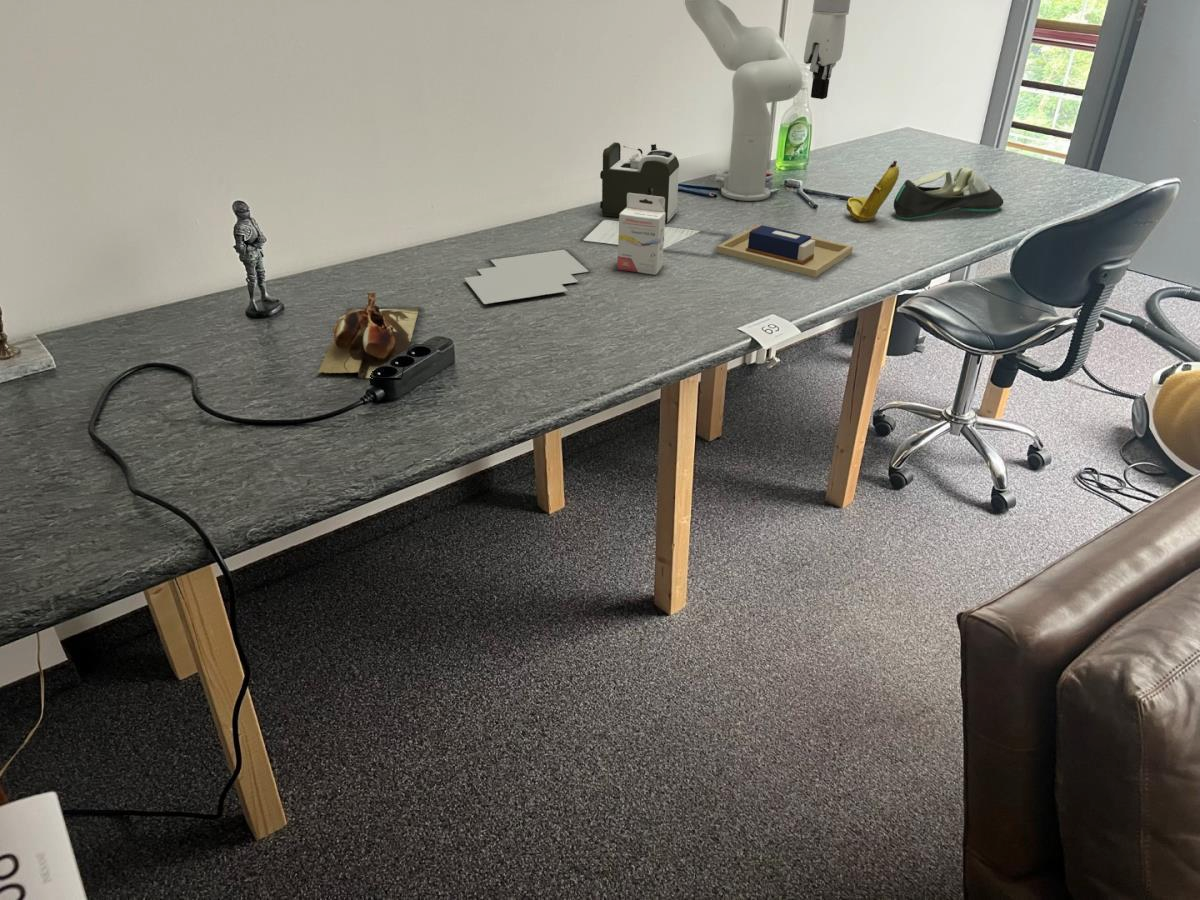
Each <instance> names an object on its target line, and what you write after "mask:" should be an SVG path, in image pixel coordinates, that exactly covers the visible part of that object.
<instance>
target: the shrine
mask: <svg viewBox="0 0 1200 900" xmlns="http://www.w3.org/2000/svg"><path fill="white" fill-rule="evenodd" d="M897 163H898V160H893V162H892V163H891V164H890V165H889V166H888V168H887V170H886V171H885V173H884V174H883V175H882V176H881V178H880V179H879V181H878V182H877V183H875V184H874V186H873V189H872V191H871V193H870V194H869V196H868V197H865V196H855V197H849V198H848V199H847V202H846V210H847V212H849V216H850V218H851V219H853V220H854V221H855V222H858V223H868V222H872V221H873V220H874V219H875V218H876V216H877V214H878V212H879V209H880V208H881V206H882V205H883V203H885V201H886V200H887V198H888V196H889V195H890V193H891V192H892V190H893V188H894V187H895V185H896V183H897V181H898V179H899V176H900V169H899V166H898V164H897Z"/></svg>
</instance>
